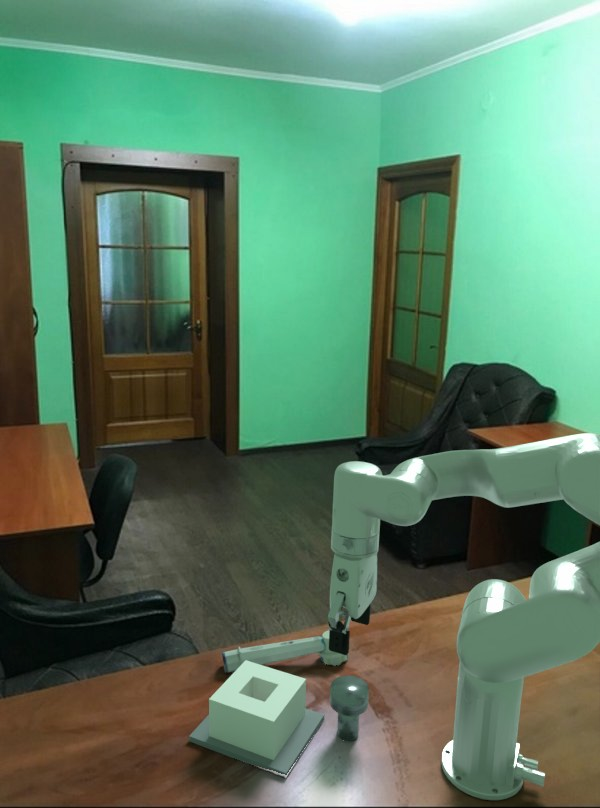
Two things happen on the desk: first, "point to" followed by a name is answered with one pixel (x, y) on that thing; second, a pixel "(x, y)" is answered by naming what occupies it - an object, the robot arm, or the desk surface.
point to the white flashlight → (283, 652)
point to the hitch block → (259, 718)
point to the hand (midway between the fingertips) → (349, 636)
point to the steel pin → (349, 704)
